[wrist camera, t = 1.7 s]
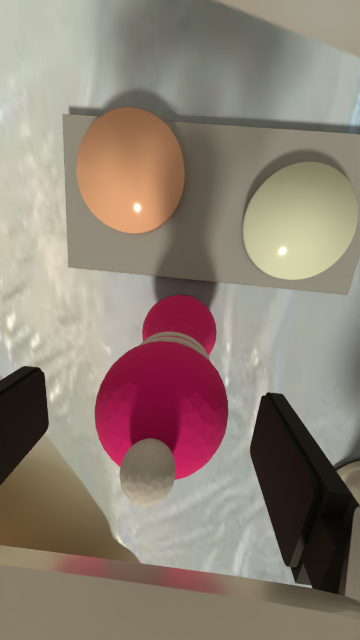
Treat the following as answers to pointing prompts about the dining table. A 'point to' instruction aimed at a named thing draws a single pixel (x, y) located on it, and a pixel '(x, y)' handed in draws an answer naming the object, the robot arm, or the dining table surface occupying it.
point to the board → (210, 206)
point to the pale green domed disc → (300, 221)
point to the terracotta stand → (131, 170)
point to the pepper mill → (163, 401)
